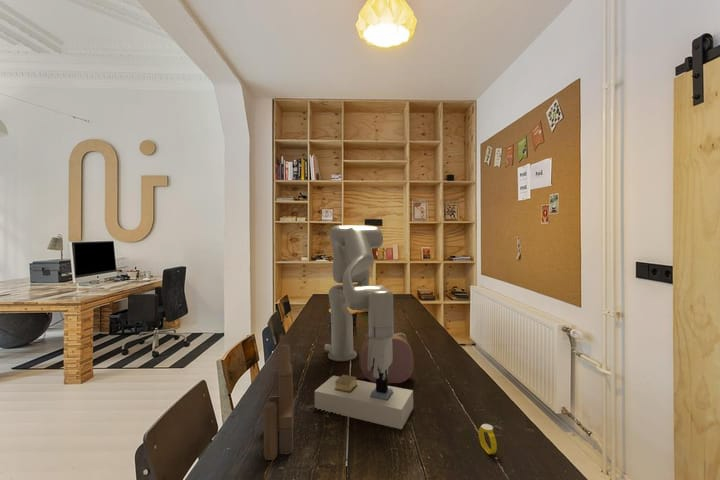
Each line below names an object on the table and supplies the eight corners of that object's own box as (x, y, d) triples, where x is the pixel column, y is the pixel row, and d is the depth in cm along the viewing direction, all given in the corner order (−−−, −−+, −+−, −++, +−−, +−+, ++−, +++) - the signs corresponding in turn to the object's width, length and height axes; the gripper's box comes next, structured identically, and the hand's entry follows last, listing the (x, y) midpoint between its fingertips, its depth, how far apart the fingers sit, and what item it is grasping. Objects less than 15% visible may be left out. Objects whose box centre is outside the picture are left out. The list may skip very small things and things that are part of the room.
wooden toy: (269, 425, 93) (268, 337, 93) (293, 422, 94) (292, 336, 94) (263, 462, 78) (261, 358, 77) (292, 458, 79) (290, 355, 79)
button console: (314, 408, 102) (314, 391, 101) (333, 391, 112) (333, 375, 112) (401, 429, 90) (401, 409, 90) (413, 408, 101) (412, 390, 101)
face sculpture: (411, 375, 124) (411, 331, 124) (415, 383, 117) (415, 337, 117) (359, 377, 124) (358, 333, 123) (359, 385, 117) (359, 339, 116)
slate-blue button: (371, 402, 97) (371, 393, 97) (377, 394, 102) (377, 385, 102) (387, 405, 95) (386, 396, 95) (392, 397, 100) (392, 388, 100)
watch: (476, 445, 84) (475, 421, 84) (486, 443, 84) (485, 419, 84) (489, 459, 78) (488, 433, 78) (500, 457, 78) (498, 431, 78)
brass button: (335, 389, 102) (335, 381, 102) (342, 383, 107) (342, 374, 107) (349, 392, 100) (349, 383, 100) (356, 385, 105) (356, 377, 105)
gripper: (378, 323, 107) (379, 379, 107) (359, 336, 93) (360, 400, 93) (400, 325, 104) (401, 383, 104) (384, 339, 90) (385, 405, 90)
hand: (381, 391), depth 99 cm, fingers closed
